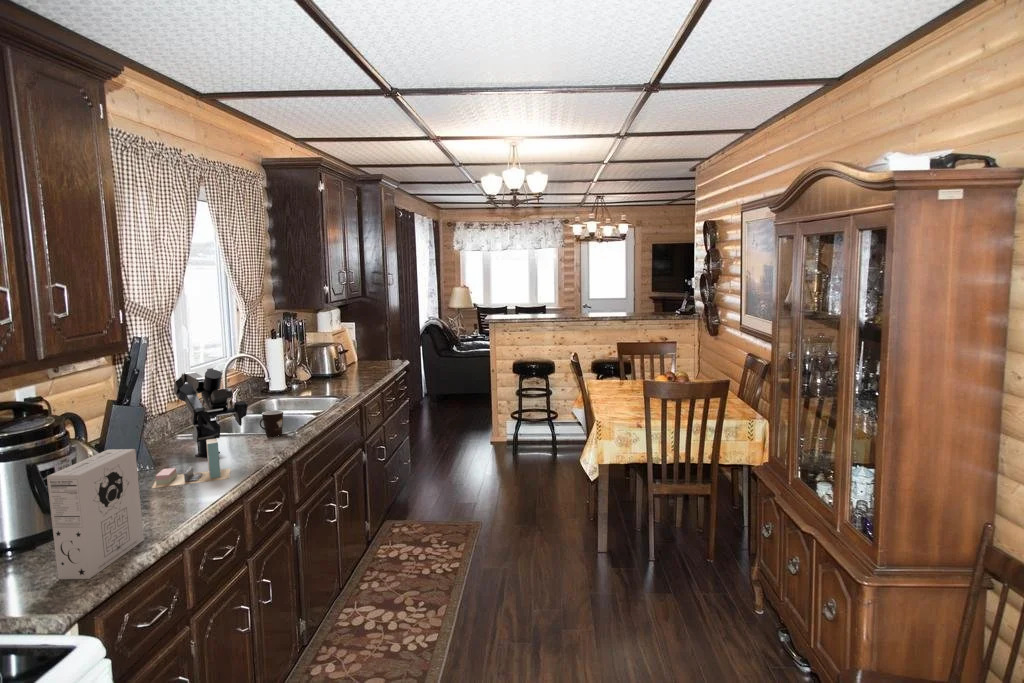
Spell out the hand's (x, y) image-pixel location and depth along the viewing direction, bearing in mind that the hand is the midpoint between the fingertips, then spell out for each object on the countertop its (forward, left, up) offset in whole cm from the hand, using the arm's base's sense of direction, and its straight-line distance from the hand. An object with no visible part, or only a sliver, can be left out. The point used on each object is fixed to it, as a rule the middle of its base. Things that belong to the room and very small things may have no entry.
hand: (227, 427), depth 231 cm
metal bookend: (-2, -15, -14) cm, 21 cm away
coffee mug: (-17, +42, -15) cm, 48 cm away
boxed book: (+2, -10, -14) cm, 18 cm away
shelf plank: (-3, -14, -15) cm, 21 cm away
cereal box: (+23, -68, -15) cm, 73 cm away
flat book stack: (-9, -19, -14) cm, 25 cm away
